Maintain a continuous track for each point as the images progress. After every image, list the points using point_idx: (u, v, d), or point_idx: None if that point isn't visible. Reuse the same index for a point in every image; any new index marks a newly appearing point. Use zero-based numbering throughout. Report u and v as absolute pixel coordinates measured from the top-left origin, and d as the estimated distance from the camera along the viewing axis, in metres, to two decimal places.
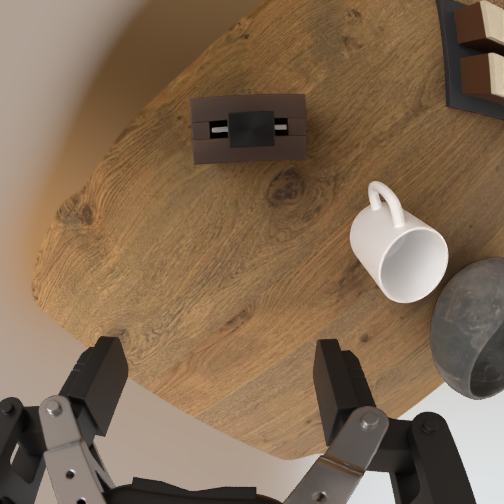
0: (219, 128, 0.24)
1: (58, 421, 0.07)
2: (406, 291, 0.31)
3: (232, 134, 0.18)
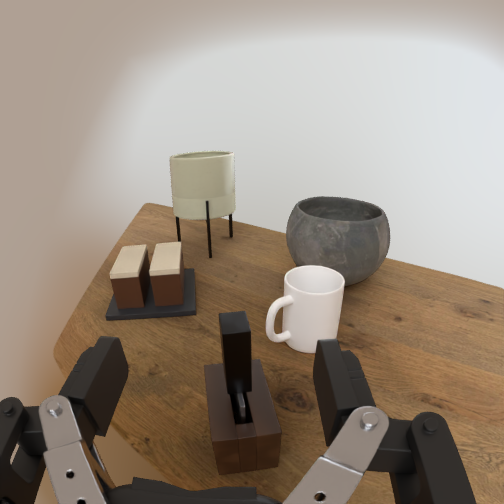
0: (240, 402, 0.25)
1: (58, 421, 0.07)
2: (337, 284, 0.45)
3: (239, 329, 0.24)
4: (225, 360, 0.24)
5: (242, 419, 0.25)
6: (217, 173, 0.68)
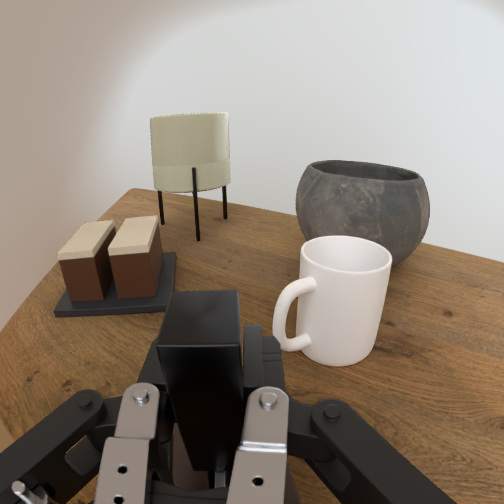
0: None
1: (139, 411, 0.08)
2: (377, 262, 0.29)
3: (208, 338, 0.08)
4: (175, 411, 0.09)
5: None
6: (207, 133, 0.52)
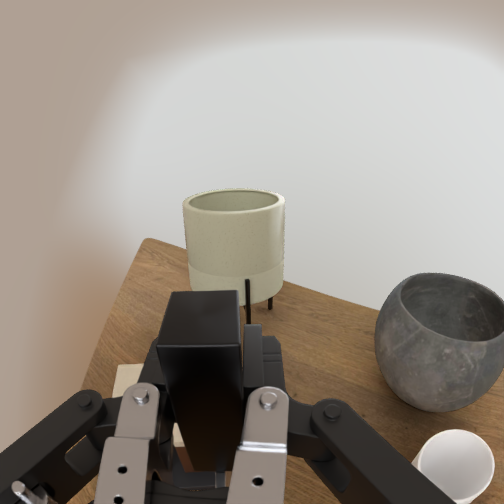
0: None
1: (139, 411, 0.08)
2: (475, 451, 0.20)
3: (207, 338, 0.08)
4: (175, 412, 0.09)
5: None
6: (264, 236, 0.43)
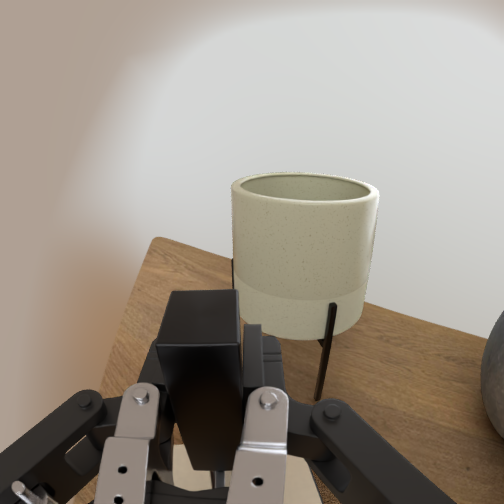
0: None
1: (138, 411, 0.08)
2: None
3: (207, 337, 0.08)
4: (175, 411, 0.09)
5: None
6: (361, 240, 0.28)
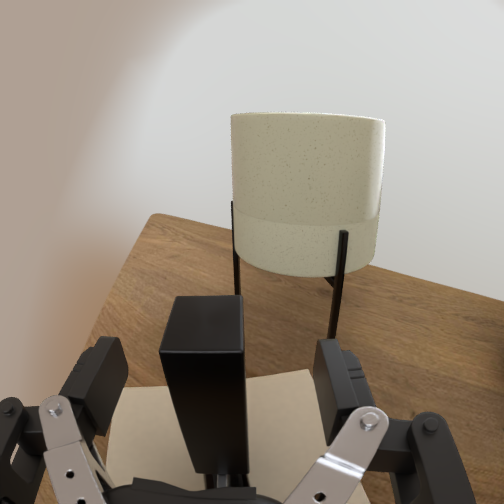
0: None
1: (58, 421, 0.07)
2: None
3: (211, 344, 0.08)
4: (178, 415, 0.09)
5: None
6: (369, 161, 0.25)
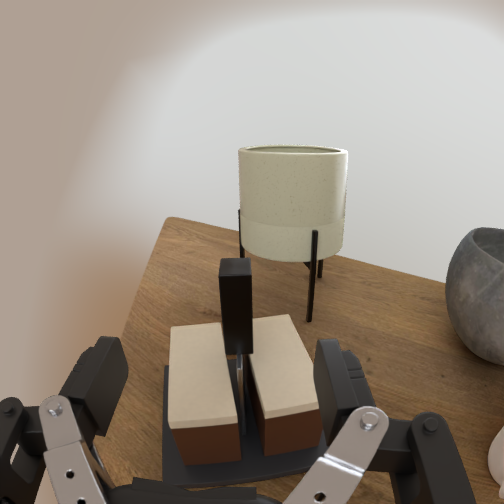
0: (237, 363, 0.23)
1: (58, 421, 0.07)
2: None
3: (238, 272, 0.21)
4: (222, 310, 0.22)
5: (239, 385, 0.23)
6: (333, 183, 0.38)
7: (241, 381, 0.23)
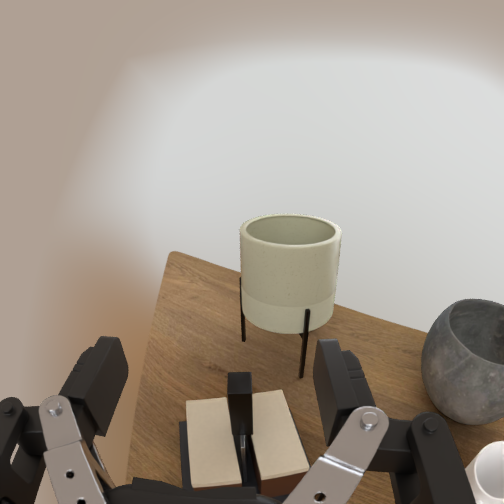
0: (241, 443, 0.28)
1: (58, 421, 0.07)
2: None
3: (242, 390, 0.26)
4: (230, 411, 0.27)
5: (242, 456, 0.28)
6: (325, 268, 0.43)
7: (244, 454, 0.28)
